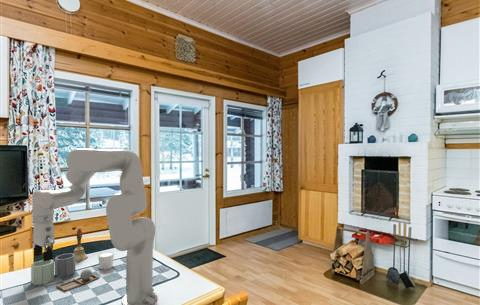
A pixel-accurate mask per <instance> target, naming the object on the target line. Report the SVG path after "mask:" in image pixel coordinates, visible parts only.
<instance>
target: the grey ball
mask: <svg viewBox="0 0 480 305" xmlns="http://www.w3.org/2000/svg"><path fill="white" fill-rule="evenodd" d="M92 274H93V272H92V270H91V269H89V268H88V269H87V268H85V269H83V270H82V271H81V273H80V277H81V279H82V280H88V279H89V278H90V277H91V276H92Z"/></svg>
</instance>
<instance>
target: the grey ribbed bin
mask: <svg viewBox="0 0 480 305" xmlns="http://www.w3.org/2000/svg"><path fill="white" fill-rule="evenodd" d="M75 272H76V262H75V254H74V252H73V253H72V252H70V253H63V254H59V255H57V256H56V257H54V277H55V276H56V277H58V278H59V277H61V278H62V277H67V276H70V275H73V274H74V273H75Z"/></svg>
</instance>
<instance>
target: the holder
mask: <svg viewBox="0 0 480 305" xmlns="http://www.w3.org/2000/svg"><path fill="white" fill-rule="evenodd" d="M99 278H100V276H98V275H96V274H93V273H92V276H91V277H90V278H89V279H88V280H82V279H81V277H76V278H73V279H72V280H69V281H66V282H63V283H61V284H60V283H59V284H56V288H57V289H58V290H60V291H63V292H64V293H65V292H68V291H71V290H74V289H76V288H78V287H81V286H84V285H87V284H89V283H92V282H94V281H97V280H99Z"/></svg>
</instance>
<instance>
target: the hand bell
mask: <svg viewBox="0 0 480 305" xmlns="http://www.w3.org/2000/svg"><path fill="white" fill-rule="evenodd" d="M75 237H76V240H77V245H76V247H75V248H74V249H73V254H75V263H76V262H80V261H85V260H87V259H88V258H89V257H88V255H87V254H86V252H85V249H84V247H82V238H83V231H82V229H81V228H77V231H76V236H75Z"/></svg>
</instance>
